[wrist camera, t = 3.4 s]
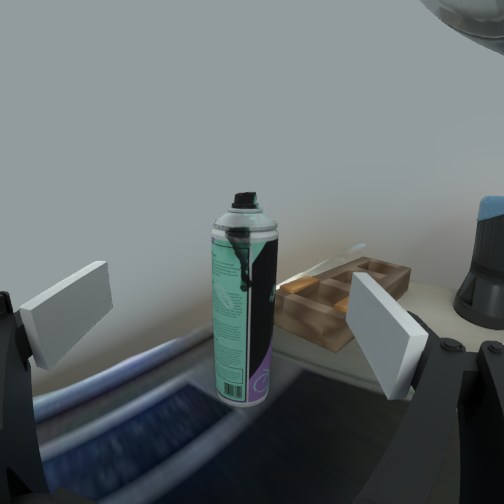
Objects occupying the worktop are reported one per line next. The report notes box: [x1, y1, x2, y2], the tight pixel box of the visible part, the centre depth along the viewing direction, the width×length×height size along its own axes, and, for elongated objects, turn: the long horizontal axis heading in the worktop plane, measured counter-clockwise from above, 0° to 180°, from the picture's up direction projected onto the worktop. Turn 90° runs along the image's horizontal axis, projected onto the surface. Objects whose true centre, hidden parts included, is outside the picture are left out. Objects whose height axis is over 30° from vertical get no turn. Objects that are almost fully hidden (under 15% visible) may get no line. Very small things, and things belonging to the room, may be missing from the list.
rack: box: [274, 257, 411, 352], centre depth 49 cm, size 12×31×6 cm, turn 133°
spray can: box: [212, 192, 278, 407], centre depth 26 cm, size 6×6×20 cm
